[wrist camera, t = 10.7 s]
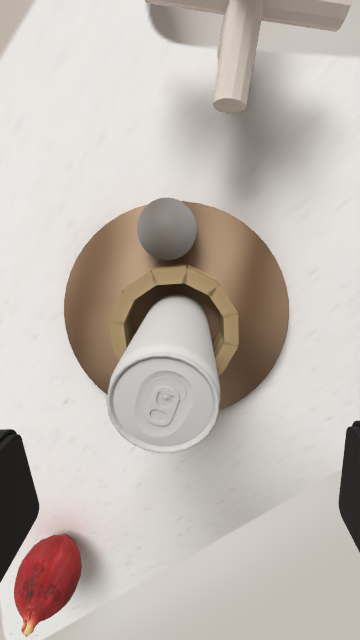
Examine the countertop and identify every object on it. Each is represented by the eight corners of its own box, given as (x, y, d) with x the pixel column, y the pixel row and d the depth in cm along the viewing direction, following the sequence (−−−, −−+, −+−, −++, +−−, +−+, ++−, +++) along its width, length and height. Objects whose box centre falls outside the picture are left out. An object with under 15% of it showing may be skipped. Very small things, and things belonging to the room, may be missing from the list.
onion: (34, 515, 31) (-17, 608, 23) (87, 514, 31) (53, 608, 23) (44, 555, 32) (-1, 654, 25) (94, 554, 32) (65, 654, 24)
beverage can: (216, 304, 23) (242, 375, 11) (194, 357, 24) (196, 470, 12) (158, 283, 22) (122, 332, 11) (139, 338, 24) (89, 434, 12)
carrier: (287, 193, 21) (311, 184, 17) (281, 405, 26) (298, 436, 22) (51, 212, 22) (20, 206, 18) (88, 414, 27) (71, 446, 23)
